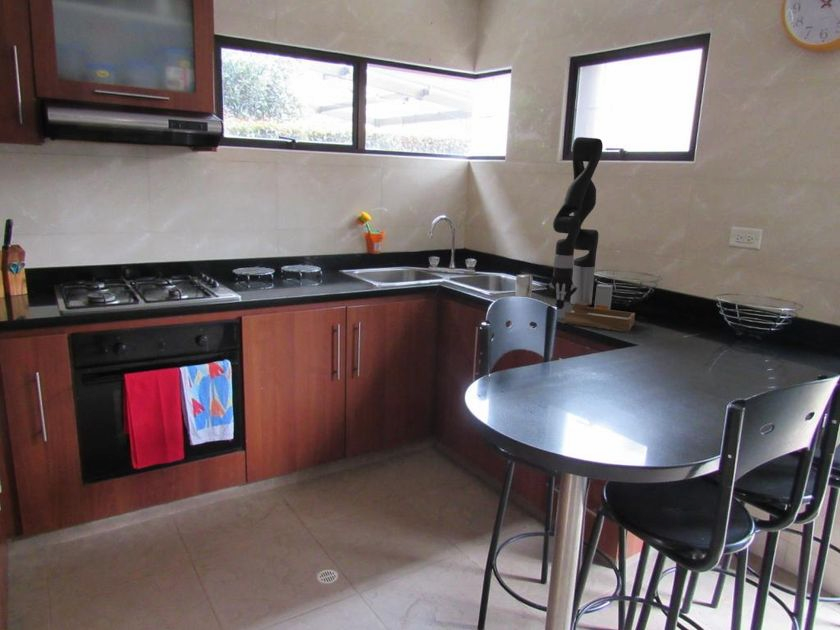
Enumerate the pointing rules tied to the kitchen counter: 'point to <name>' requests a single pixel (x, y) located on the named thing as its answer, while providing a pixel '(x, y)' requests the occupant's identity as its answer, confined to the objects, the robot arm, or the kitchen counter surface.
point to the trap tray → (602, 319)
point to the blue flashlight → (523, 285)
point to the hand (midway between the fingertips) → (559, 308)
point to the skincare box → (603, 296)
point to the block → (581, 308)
